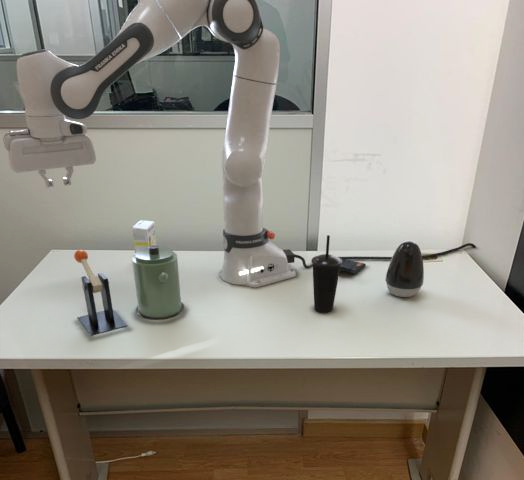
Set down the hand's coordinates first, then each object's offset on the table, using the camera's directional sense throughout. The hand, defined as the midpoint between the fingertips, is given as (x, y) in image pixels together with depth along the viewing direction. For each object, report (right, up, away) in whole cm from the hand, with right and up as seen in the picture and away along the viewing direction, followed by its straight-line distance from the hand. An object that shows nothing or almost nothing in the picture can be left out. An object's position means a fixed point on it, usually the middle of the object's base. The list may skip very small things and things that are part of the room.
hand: (58, 186), depth 134 cm
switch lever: (+9, -23, -5) cm, 25 cm away
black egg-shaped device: (+91, -26, +14) cm, 95 cm away
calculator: (+77, -15, +28) cm, 83 cm away
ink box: (+15, -13, +35) cm, 41 cm away
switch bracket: (+12, -35, -3) cm, 37 cm away
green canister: (+25, -32, +4) cm, 41 cm away
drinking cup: (+68, -31, +5) cm, 75 cm away
